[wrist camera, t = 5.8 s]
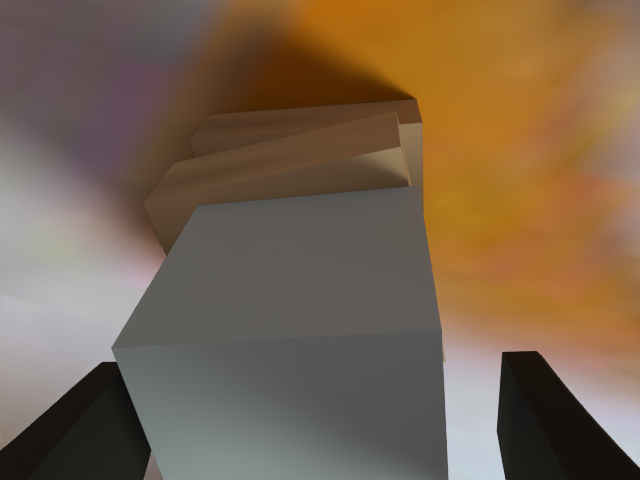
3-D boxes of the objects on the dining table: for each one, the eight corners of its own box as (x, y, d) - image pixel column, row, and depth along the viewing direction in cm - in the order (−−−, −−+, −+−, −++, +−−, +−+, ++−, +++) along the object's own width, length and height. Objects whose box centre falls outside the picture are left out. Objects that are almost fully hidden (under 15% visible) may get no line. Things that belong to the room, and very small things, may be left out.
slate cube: (429, 362, 15) (451, 546, 11) (241, 371, 16) (190, 547, 11) (418, 185, 13) (441, 329, 8) (198, 205, 13) (111, 347, 9)
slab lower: (418, 271, 20) (424, 316, 17) (244, 278, 20) (229, 322, 18) (415, 94, 17) (422, 122, 14) (212, 110, 17) (189, 139, 15)
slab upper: (436, 304, 17) (445, 361, 15) (245, 336, 18) (228, 393, 16) (396, 111, 14) (400, 146, 12) (174, 162, 16) (142, 203, 13)
